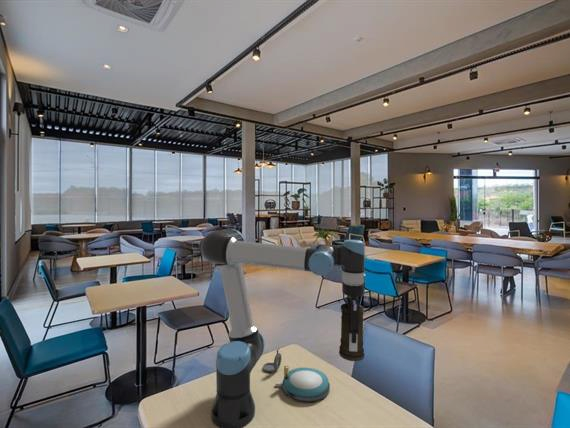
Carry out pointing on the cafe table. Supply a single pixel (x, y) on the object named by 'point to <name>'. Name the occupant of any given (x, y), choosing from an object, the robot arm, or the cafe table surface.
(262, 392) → the cafe table surface
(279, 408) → the cafe table surface
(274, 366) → the pocket watch
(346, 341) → the container
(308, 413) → the cafe table surface
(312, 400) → the turntable base
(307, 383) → the turntable
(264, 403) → the cafe table surface
